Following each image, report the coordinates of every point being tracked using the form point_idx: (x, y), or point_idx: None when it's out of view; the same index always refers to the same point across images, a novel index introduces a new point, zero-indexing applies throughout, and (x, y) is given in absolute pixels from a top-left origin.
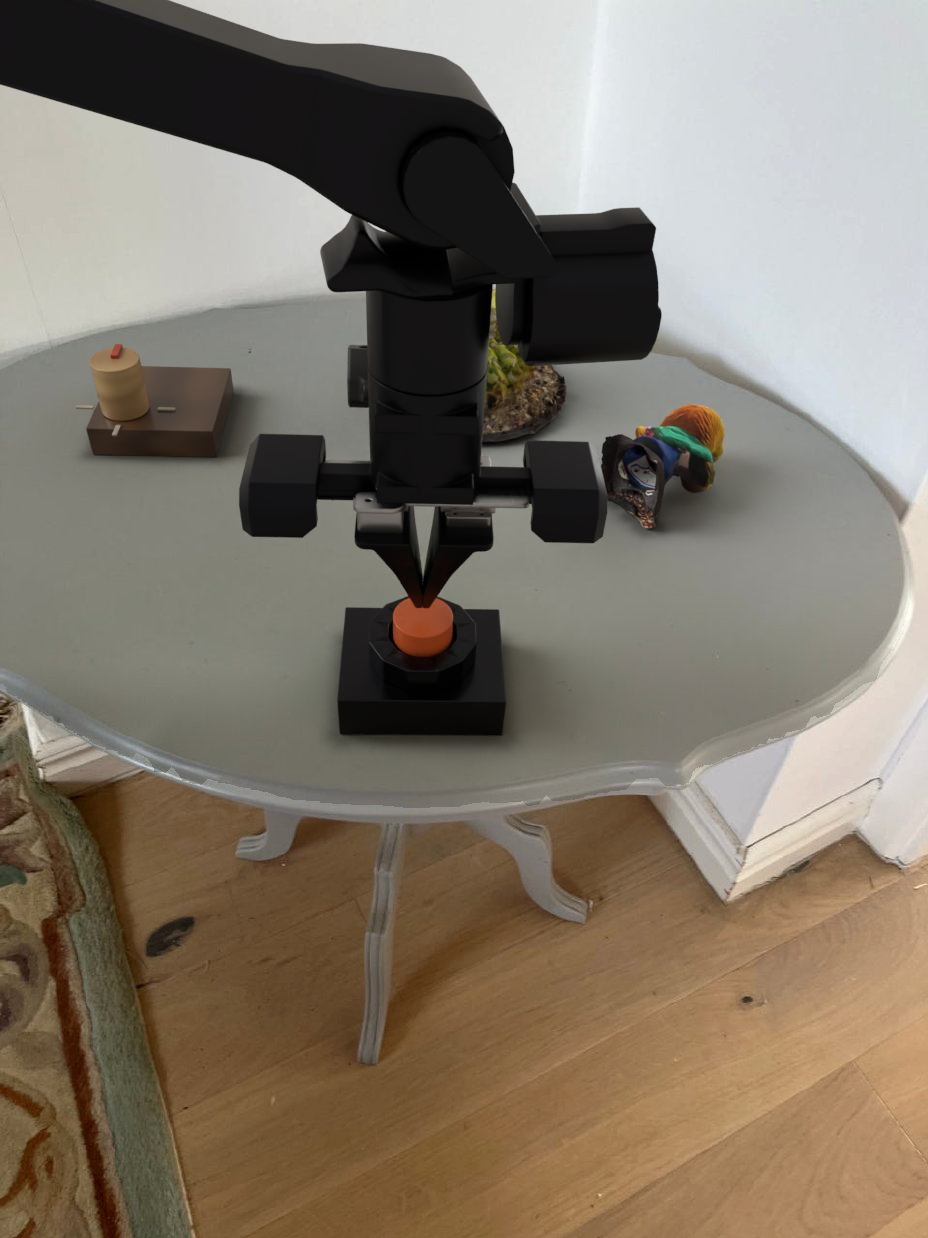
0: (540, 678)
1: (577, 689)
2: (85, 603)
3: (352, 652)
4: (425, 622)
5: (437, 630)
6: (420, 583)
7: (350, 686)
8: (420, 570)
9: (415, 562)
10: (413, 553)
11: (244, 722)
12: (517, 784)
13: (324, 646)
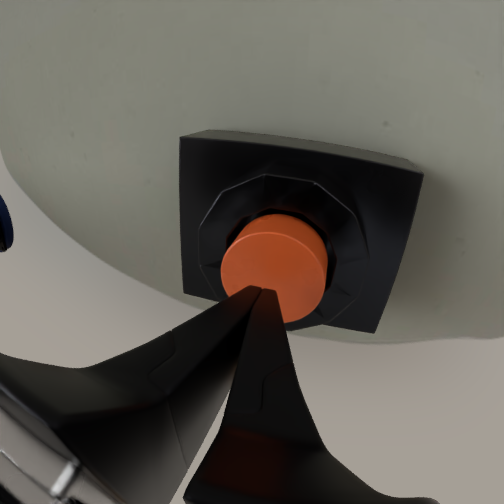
0: (441, 229)
1: (470, 253)
2: (15, 98)
3: (192, 227)
4: None
5: (290, 316)
6: (230, 382)
7: (194, 278)
8: (230, 359)
9: (192, 453)
10: (177, 481)
11: (126, 233)
12: (365, 343)
13: None
